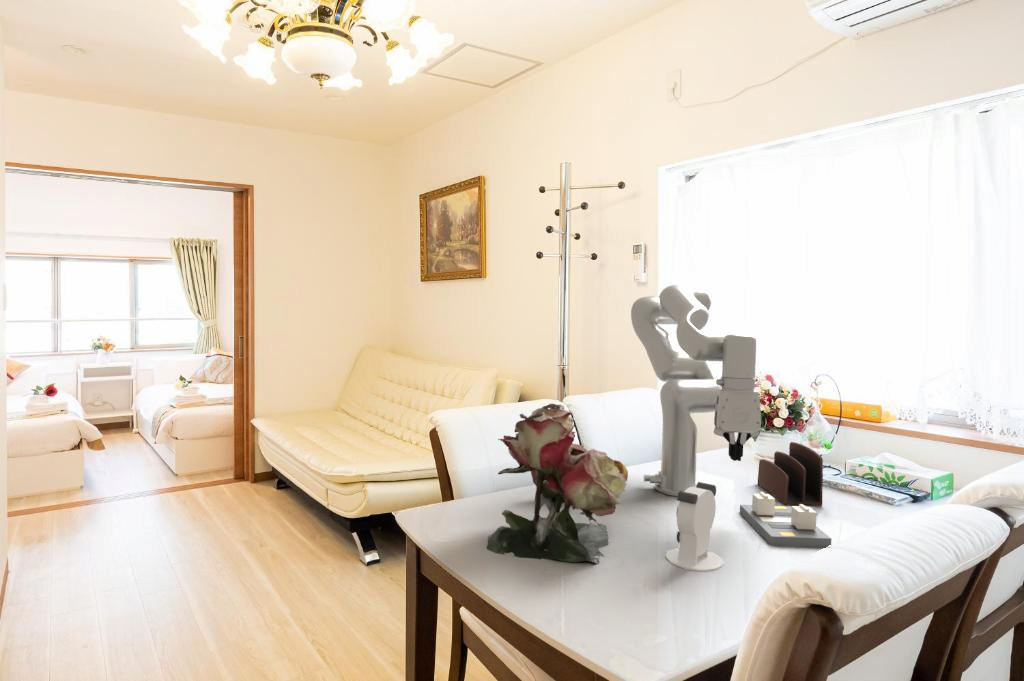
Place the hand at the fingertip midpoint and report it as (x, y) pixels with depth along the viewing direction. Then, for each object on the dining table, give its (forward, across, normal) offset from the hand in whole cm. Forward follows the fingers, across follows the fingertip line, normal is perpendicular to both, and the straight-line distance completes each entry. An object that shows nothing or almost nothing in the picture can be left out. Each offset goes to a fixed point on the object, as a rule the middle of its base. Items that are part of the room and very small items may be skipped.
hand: (735, 459), depth 155 cm
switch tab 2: (+13, +13, -8) cm, 21 cm away
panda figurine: (+16, -15, -24) cm, 33 cm away
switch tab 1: (+13, +7, +1) cm, 15 cm away
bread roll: (+15, -28, +31) cm, 44 cm away
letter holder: (+15, +23, +24) cm, 37 cm away
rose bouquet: (+16, -43, -16) cm, 49 cm away
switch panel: (+15, +10, -4) cm, 19 cm away
